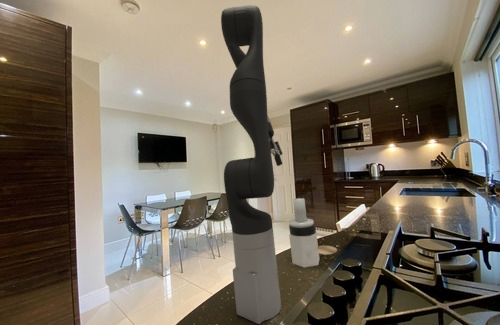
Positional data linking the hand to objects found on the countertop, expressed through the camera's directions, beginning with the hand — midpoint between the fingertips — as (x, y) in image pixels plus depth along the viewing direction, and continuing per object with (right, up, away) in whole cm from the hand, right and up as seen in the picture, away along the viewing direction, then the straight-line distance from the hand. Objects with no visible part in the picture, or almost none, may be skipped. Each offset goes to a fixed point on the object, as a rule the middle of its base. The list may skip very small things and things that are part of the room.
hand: (273, 163), depth 75 cm
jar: (+9, -31, -10) cm, 34 cm away
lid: (+8, -19, -9) cm, 23 cm away
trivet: (+18, -31, -2) cm, 36 cm away
